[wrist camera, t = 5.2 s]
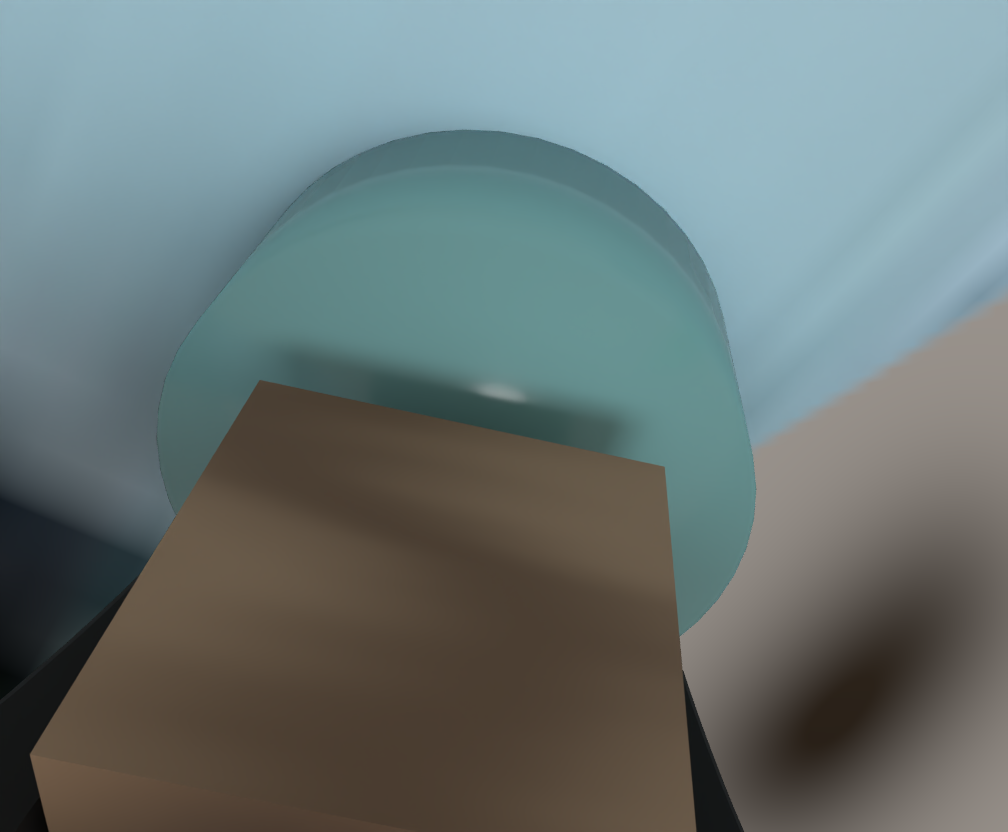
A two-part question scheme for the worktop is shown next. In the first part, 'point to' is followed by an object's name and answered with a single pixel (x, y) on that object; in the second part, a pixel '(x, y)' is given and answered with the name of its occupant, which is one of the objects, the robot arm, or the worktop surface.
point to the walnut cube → (387, 641)
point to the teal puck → (489, 325)
